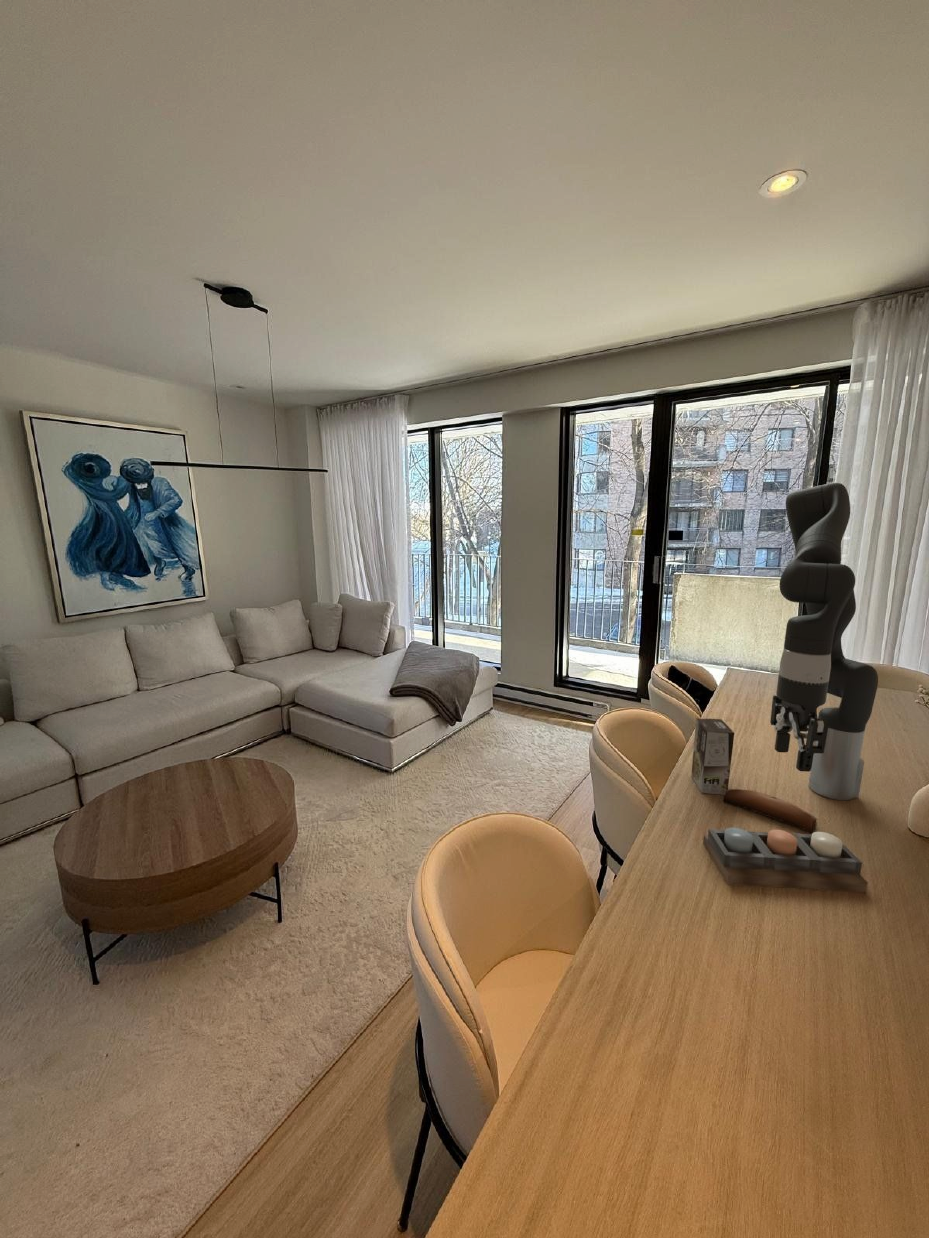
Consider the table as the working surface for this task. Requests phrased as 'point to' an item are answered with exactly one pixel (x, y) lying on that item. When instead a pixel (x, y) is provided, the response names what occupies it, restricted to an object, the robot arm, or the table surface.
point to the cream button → (826, 845)
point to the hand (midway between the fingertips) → (791, 760)
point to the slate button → (738, 840)
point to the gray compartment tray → (785, 865)
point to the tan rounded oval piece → (781, 843)
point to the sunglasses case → (771, 807)
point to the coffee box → (712, 755)
